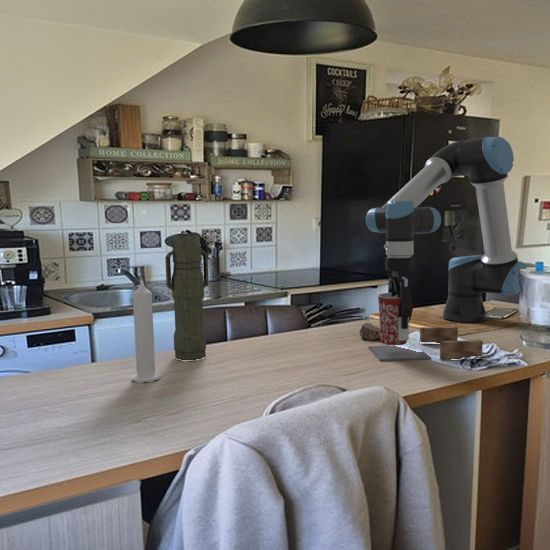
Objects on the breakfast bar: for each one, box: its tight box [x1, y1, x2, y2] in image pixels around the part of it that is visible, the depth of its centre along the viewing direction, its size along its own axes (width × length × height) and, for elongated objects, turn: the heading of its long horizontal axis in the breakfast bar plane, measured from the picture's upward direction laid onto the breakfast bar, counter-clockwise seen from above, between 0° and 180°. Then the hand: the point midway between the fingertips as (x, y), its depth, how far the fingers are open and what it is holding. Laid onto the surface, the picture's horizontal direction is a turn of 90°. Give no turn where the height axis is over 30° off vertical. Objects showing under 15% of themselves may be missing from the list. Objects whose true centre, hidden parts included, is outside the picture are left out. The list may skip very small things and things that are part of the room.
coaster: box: [368, 345, 432, 362], centre depth 157 cm, size 14×14×1 cm
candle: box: [131, 279, 162, 384], centre depth 136 cm, size 7×7×25 cm
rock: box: [359, 322, 381, 341], centre depth 177 cm, size 9×6×10 cm
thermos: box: [165, 233, 209, 360], centre depth 155 cm, size 9×12×35 cm
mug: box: [377, 292, 414, 346], centre depth 156 cm, size 13×9×14 cm
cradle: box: [419, 325, 484, 362], centre depth 158 cm, size 11×19×5 cm, turn 3°
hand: (398, 336), depth 156 cm, fingers closed on mug, 9 cm apart
